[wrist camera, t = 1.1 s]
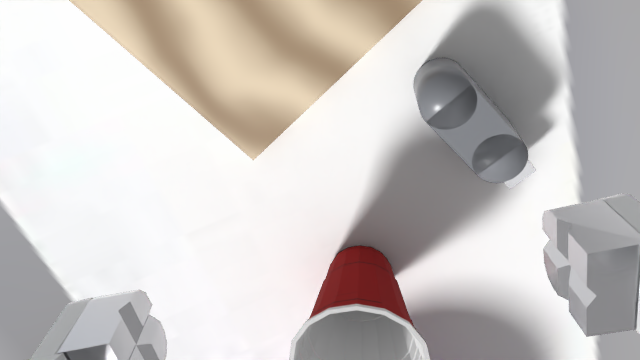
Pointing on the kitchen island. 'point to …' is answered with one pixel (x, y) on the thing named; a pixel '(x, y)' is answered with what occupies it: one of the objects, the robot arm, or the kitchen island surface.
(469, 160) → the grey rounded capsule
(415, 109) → the kitchen island surface
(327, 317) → the plastic cup
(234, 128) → the oak board
